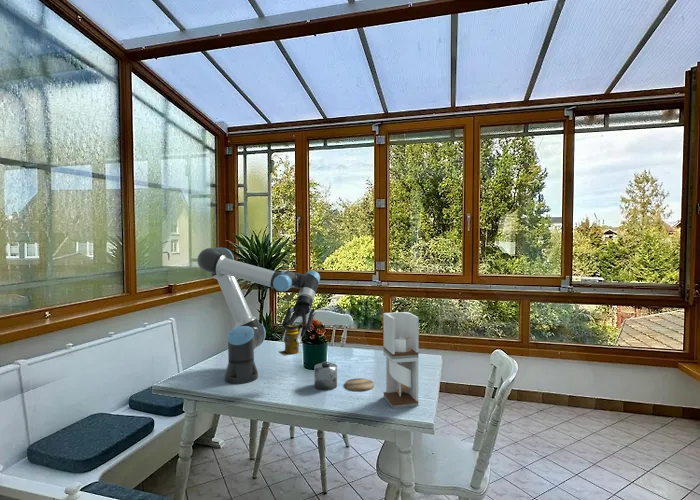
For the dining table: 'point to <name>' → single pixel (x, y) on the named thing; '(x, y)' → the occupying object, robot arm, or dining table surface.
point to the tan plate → (359, 384)
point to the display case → (401, 358)
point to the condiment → (291, 341)
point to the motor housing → (325, 376)
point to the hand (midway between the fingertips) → (290, 341)
